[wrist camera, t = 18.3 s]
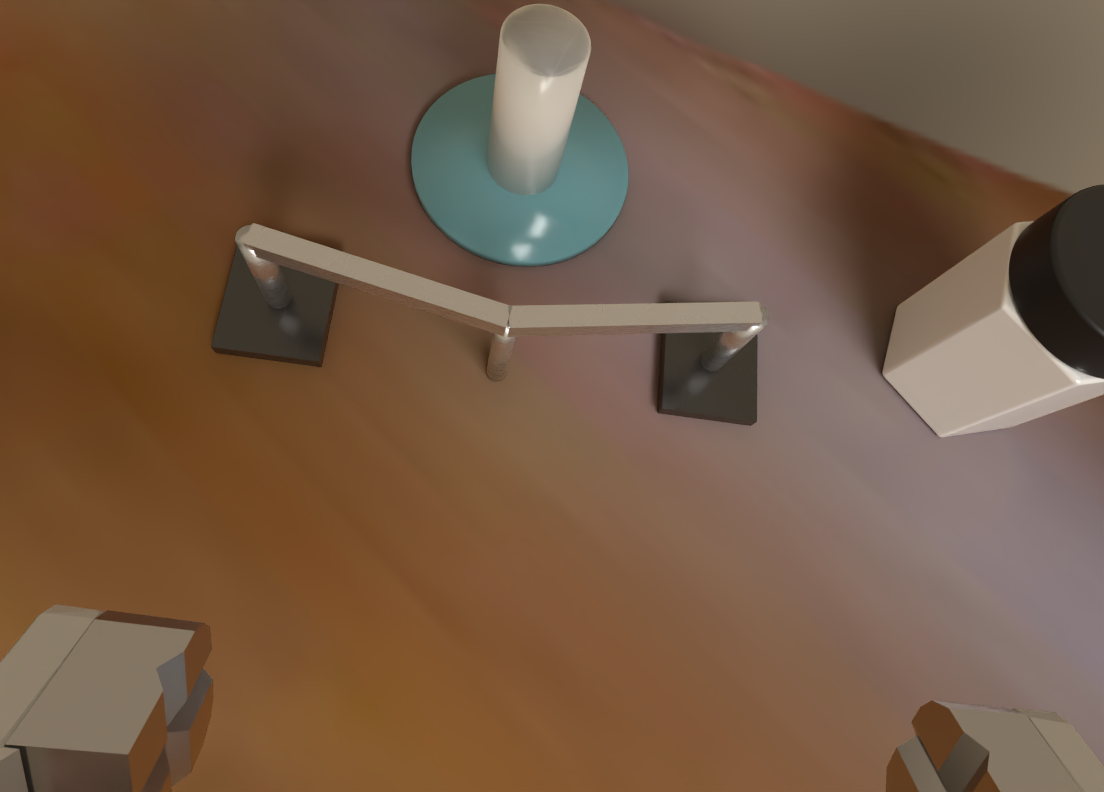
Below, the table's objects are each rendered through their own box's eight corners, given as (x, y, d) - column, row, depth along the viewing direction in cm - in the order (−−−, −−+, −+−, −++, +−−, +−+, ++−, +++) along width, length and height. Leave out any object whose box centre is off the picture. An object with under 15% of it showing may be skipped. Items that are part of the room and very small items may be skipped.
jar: (1050, 385, 42) (1274, 295, 31) (965, 471, 40) (1175, 408, 28) (939, 269, 44) (1115, 142, 32) (850, 346, 41) (1007, 238, 30)
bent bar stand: (751, 320, 41) (812, 260, 34) (750, 425, 39) (815, 383, 32) (243, 243, 38) (202, 160, 31) (215, 352, 36) (165, 289, 29)
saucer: (582, 63, 44) (584, 56, 44) (657, 236, 41) (660, 231, 41) (384, 102, 41) (383, 94, 41) (450, 291, 38) (450, 286, 38)
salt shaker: (544, 126, 42) (572, -3, 33) (569, 186, 41) (604, 69, 32) (476, 140, 41) (487, 11, 32) (500, 202, 40) (517, 86, 31)
